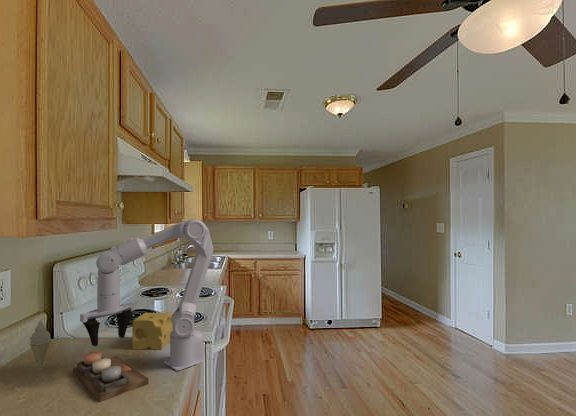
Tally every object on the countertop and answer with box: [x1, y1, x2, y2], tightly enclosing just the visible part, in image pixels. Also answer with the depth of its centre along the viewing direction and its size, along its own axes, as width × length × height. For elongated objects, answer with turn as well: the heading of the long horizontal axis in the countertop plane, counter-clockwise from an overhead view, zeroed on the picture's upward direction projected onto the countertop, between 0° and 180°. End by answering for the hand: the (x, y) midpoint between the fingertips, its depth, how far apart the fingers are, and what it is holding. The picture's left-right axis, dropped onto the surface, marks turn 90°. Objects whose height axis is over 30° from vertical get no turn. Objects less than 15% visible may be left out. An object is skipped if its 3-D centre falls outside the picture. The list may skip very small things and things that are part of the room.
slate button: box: [102, 366, 121, 381], centre depth 92 cm, size 4×4×2 cm
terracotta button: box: [83, 351, 103, 365], centre depth 101 cm, size 4×4×2 cm
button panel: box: [72, 355, 149, 402], centre depth 98 cm, size 12×22×3 cm, turn 46°
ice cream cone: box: [29, 318, 52, 372], centre depth 103 cm, size 5×5×15 cm
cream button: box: [92, 358, 111, 373], centre depth 97 cm, size 4×4×2 cm
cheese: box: [131, 311, 173, 351], centre depth 124 cm, size 10×11×10 cm
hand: (108, 341), depth 101 cm, fingers open, 7 cm apart
